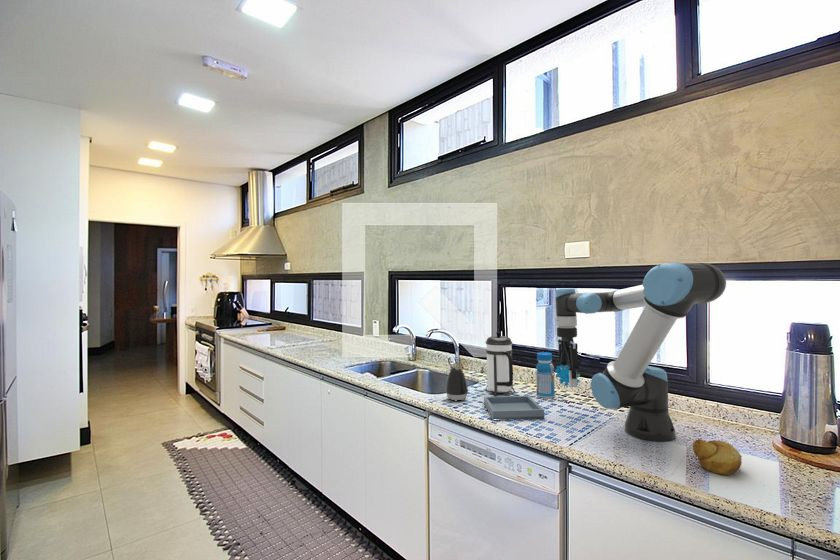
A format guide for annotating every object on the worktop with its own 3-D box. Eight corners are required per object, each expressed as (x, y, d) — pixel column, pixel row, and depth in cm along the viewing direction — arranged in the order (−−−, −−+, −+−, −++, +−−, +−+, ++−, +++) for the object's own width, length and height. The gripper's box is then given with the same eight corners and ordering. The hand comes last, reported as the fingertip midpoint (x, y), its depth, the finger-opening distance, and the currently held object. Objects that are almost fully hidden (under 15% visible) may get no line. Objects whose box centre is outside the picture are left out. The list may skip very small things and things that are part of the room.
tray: (544, 419, 152) (544, 409, 152) (493, 420, 152) (492, 411, 152) (529, 403, 172) (529, 395, 172) (484, 404, 172) (483, 396, 172)
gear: (562, 384, 149) (552, 363, 157) (554, 393, 153) (545, 371, 160) (586, 386, 152) (576, 364, 160) (578, 394, 156) (568, 373, 163)
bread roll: (712, 456, 117) (711, 429, 117) (752, 469, 108) (751, 440, 108) (689, 467, 110) (688, 438, 110) (730, 481, 102) (729, 450, 102)
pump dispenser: (462, 395, 187) (461, 363, 187) (471, 401, 177) (470, 367, 177) (442, 398, 184) (441, 365, 184) (451, 404, 174) (450, 369, 174)
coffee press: (478, 394, 188) (476, 332, 189) (492, 387, 201) (490, 328, 202) (512, 399, 178) (511, 334, 179) (525, 391, 191) (523, 330, 192)
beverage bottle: (541, 399, 178) (540, 355, 179) (533, 394, 187) (532, 352, 187) (558, 397, 180) (557, 354, 180) (549, 393, 188) (548, 351, 188)
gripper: (548, 324, 166) (550, 378, 165) (567, 329, 145) (569, 391, 145) (566, 324, 166) (568, 378, 165) (587, 329, 145) (590, 390, 145)
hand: (568, 384), depth 155 cm, fingers closed on gear, 8 cm apart
